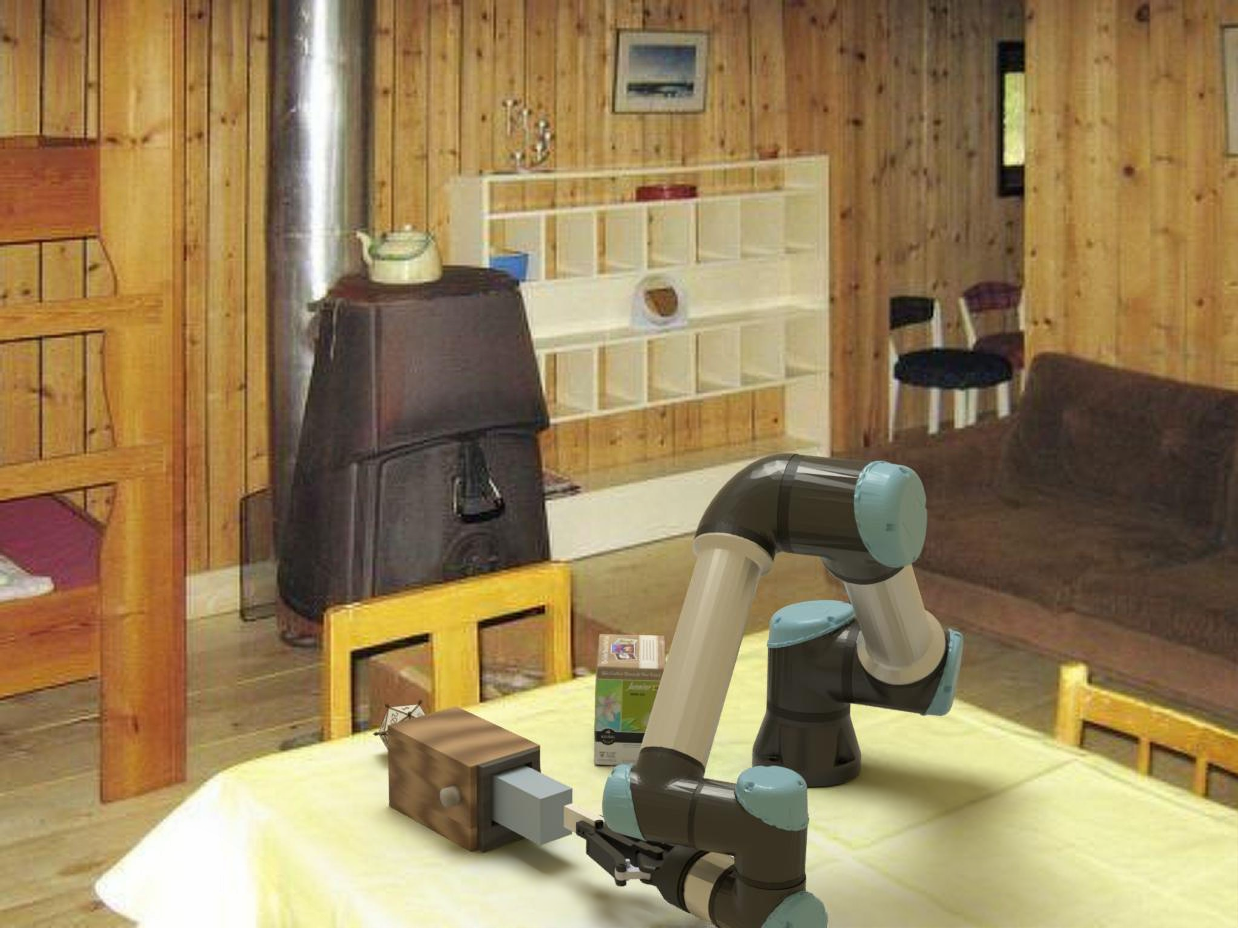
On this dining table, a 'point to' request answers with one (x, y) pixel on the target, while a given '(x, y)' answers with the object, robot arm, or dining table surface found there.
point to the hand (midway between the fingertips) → (568, 814)
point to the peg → (530, 803)
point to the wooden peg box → (454, 774)
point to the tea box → (625, 694)
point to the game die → (398, 718)
